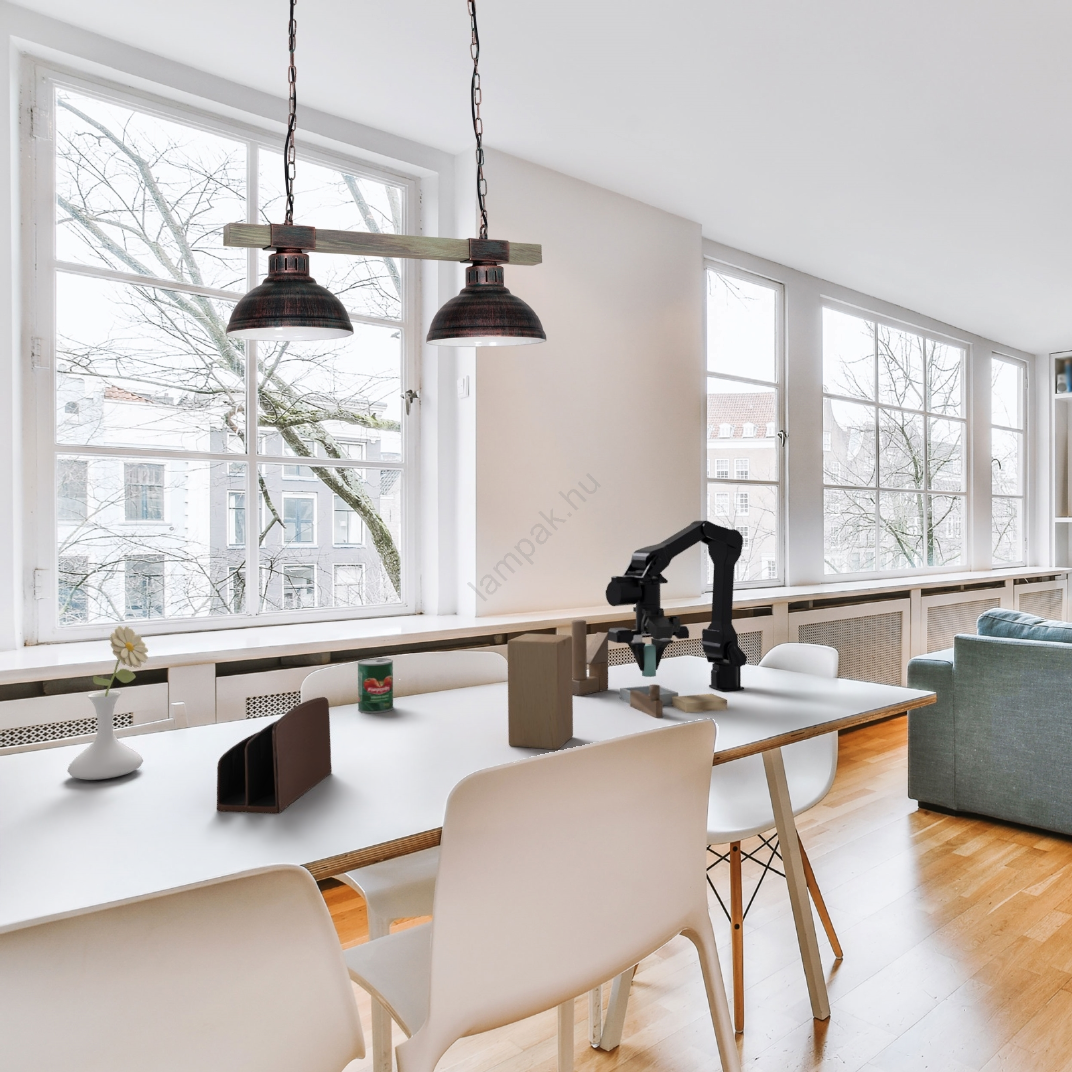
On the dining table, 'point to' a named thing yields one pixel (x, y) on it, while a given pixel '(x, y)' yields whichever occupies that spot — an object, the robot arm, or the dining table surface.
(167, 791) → the dining table surface
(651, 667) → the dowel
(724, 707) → the board
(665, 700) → the tray
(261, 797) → the letter holder
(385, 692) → the canned tomato
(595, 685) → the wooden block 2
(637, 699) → the rail
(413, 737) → the dining table surface
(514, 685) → the wooden block
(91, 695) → the flower in vase
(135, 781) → the dining table surface
